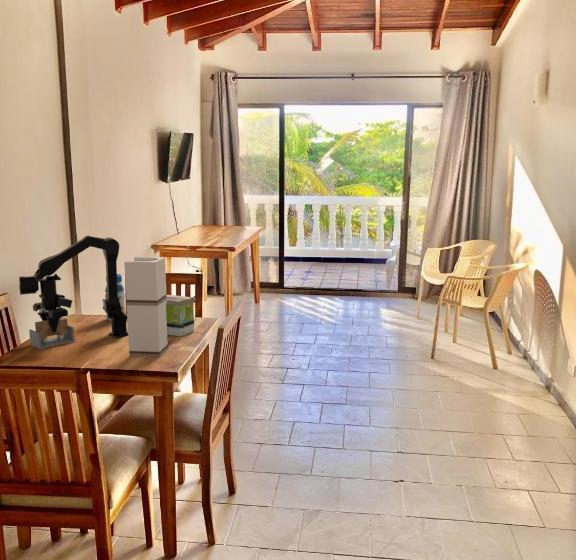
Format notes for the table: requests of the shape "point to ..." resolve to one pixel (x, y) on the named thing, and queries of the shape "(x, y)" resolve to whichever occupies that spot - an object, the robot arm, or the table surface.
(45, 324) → the brown rectangular block
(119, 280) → the beverage bottle
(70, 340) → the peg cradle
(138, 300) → the white banded pillar
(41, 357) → the table surface
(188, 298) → the green and white box
